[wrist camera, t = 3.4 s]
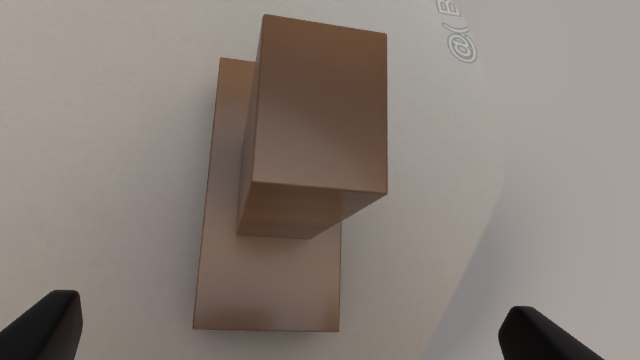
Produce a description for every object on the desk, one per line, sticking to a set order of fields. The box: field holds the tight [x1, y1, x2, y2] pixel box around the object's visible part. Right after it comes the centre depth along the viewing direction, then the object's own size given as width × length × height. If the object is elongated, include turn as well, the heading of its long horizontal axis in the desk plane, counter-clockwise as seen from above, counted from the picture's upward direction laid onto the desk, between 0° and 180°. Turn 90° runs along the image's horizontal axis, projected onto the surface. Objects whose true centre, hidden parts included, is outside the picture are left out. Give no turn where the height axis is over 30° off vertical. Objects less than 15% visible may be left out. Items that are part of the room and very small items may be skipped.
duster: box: [193, 14, 388, 332], centre depth 15 cm, size 11×6×12 cm, turn 178°
